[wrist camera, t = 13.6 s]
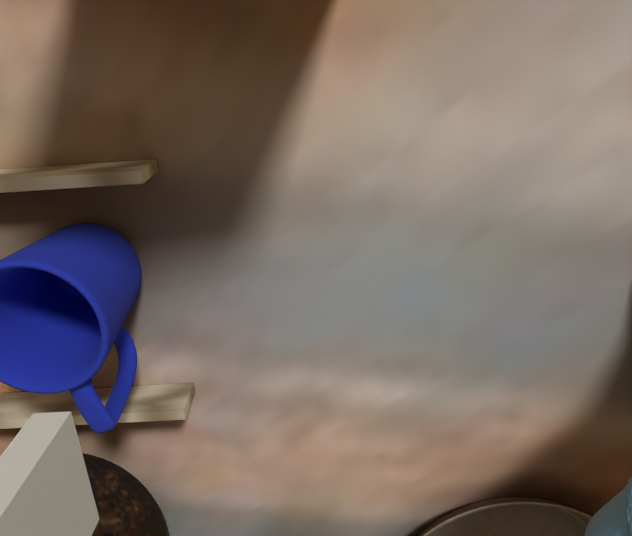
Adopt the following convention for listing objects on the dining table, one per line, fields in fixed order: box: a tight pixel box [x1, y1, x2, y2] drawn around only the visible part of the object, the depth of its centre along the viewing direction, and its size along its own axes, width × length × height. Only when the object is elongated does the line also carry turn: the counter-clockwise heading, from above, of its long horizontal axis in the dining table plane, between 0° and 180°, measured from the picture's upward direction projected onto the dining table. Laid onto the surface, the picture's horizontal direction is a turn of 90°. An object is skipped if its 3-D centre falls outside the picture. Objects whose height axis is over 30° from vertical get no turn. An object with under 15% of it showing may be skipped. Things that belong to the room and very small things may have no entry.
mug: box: [0, 223, 141, 433], centre depth 37 cm, size 8×12×10 cm
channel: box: [0, 159, 195, 429], centre depth 39 cm, size 17×18×6 cm
